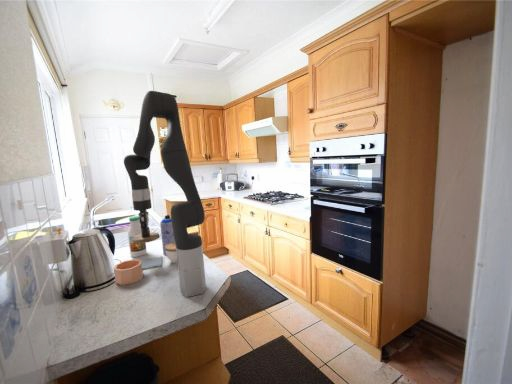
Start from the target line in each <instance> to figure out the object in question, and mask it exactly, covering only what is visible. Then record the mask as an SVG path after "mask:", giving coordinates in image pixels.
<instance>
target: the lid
mask: <svg viewBox="0 0 512 384" xmlns="http://www.w3.org/2000/svg"><path fill="white" fill-rule="evenodd" d="M147 229H148V236H147V237H143V233H142V229H141V234H140V235H137V236H135V237H133V238H132V241H133V242H134V243H145V242H146V243H150V242H154V241H157V240H158V239H160V237H161V236H160V233H159V232H151V231H150V227H149V226H148V228H147Z"/></svg>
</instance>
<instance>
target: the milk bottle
mask: <svg viewBox="0 0 512 384" xmlns="http://www.w3.org/2000/svg"><path fill="white" fill-rule="evenodd" d="M128 220H129V227H128V231H127V233H128V234H127V237H128V246H129V254H130V256H131V257H134V258H136V257H141V256H144V255H146V254H147V244H146V243H147V242H145V243H134V242H133V241H132V238H133V237H135V236H137V235H140V234H141V225H140V220H139V216H137V215H136V216H131V217H129V219H128Z"/></svg>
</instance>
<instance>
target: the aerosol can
mask: <svg viewBox="0 0 512 384" xmlns="http://www.w3.org/2000/svg"><path fill="white" fill-rule="evenodd" d="M159 223H160V225H159V226H160V233H161V234H160V235H161V236H160V237H161V244H162V251H163V252H162V255H163V256H165V257H167V255H166V250H165V246H166V245H168V244H170V243H173V242H175V239H174V233H173V226H172V220H171V215H169V214H166V215H165V216H164V218H163V219H161V221H160V222H159Z"/></svg>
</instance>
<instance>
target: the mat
mask: <svg viewBox="0 0 512 384" xmlns="http://www.w3.org/2000/svg"><path fill="white" fill-rule="evenodd" d="M140 260H141V261H142V268H143V271H144V270H149V269H154V268H160V267H162V265H163V263H162V262H163V257H162V256H161V255H160V256H157V257H150V258H145V259H144V258H143V259H140Z"/></svg>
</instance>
